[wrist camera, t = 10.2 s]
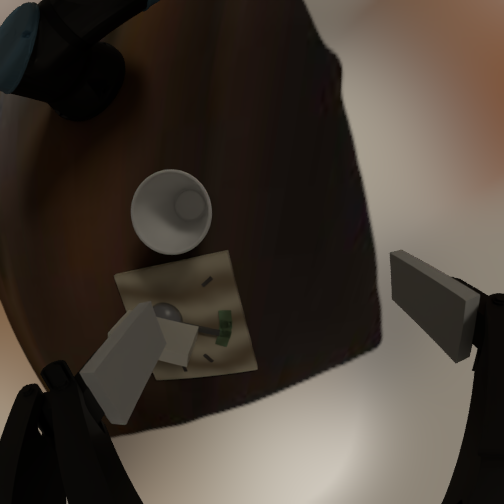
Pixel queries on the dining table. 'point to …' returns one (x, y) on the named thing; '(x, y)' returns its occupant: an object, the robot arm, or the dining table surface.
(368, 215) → the dining table surface
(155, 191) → the cup
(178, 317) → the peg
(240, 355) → the board
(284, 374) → the dining table surface
